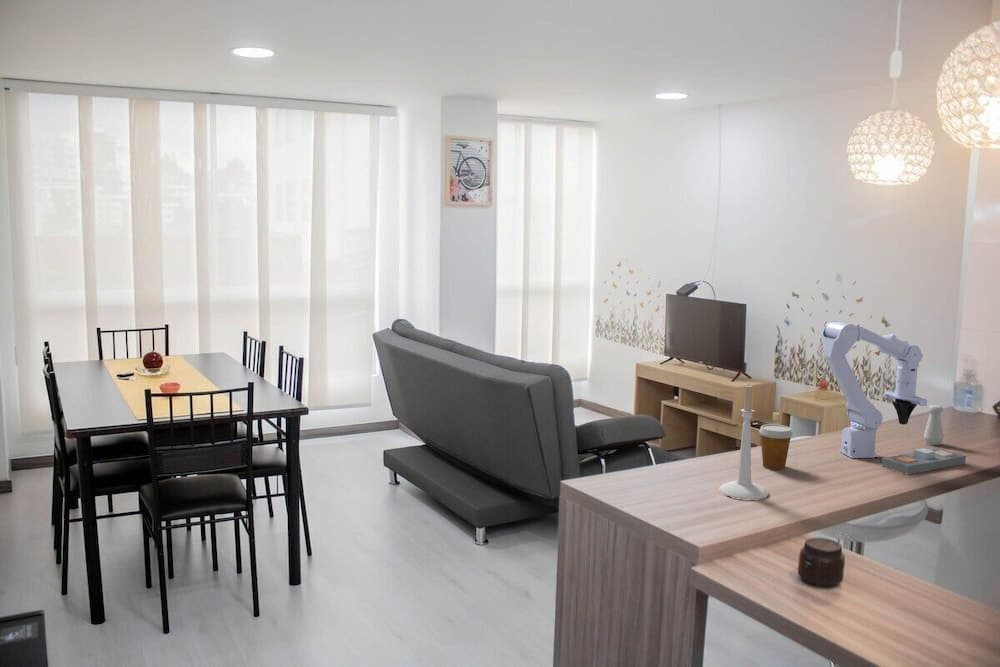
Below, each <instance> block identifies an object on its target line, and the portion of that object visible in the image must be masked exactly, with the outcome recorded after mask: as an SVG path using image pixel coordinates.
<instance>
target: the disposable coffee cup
mask: <svg viewBox="0 0 1000 667" xmlns="http://www.w3.org/2000/svg"><path fill="white" fill-rule="evenodd" d="M758 432H759V435H760V443H761V444H760V445H761V446H760V447H761V458H762V466H763V467H764V468H765V467H767V468H766V469H768V468H770V469H769V470H774V469H781V470H784V469H785V468H786V463H787V460H788V459H787V458H788V453H789V449H790V448H789V447H790V444H791V443H790V442H791V438H792V435H793V434H794V433H793V431H792V428H791V427H790V426H787V425H783V424H775V423H769V424H768V423H766V424H762V425H761V426H760V429H759V430H758ZM783 468H784V469H783Z"/></svg>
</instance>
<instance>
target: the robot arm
mask: <svg viewBox="0 0 1000 667" xmlns="http://www.w3.org/2000/svg"><path fill="white" fill-rule="evenodd" d="M820 334H821V337H822V339H823V351H824V352H823V354H824V358H825V360H826V362H827V364H828V366H829V369H830V371H831V373H832V374H833V376H834V378H835V380H836V382H837V385H838V386H839V388H840V390H841V393H842V394H843V395H844V397H845V399H846V401H847V402H846V403H845V405H844V406H845V408H846V415H847V416H846V417H847V418H848V419H847V420H849V421H850V423H849V424H850V426H848V427H844V428H843V429H842V431H841V439H840V440H841V441H840V449H839V452H840V453H842V454H844V455H846V456H848V457H849V458H851V459H869V458H871V459H872V458H874V459H875V457H877V458H881V455H879V454H877V453H875V452H876V438H877V430H878V428H879V427H880V426H881V424H882V422H883V414H882V412H881V411H880V410H879V409H877V408H876V406H875V405H874V404H873V403H872V402H871V400H869V399H868V398H867V397H866V395H865V394H864V390H863V389H862V387H861V385H860V383H859V381H858V380H857V377H856V375H855V373H854V371H853V369H852V368H851V365H850V364H849V361H848V359H847V357H846V355H847V354H849V352H850V350H851V349H852V348H853V346H854V345H855V343H856V342H860V341H861V340H862V341H864V342H866V343H869V344H872V345H874V346H877V350H878V351H879V352H881V353H882V354H885V355H887V356H888V355H889V356H891V357H892V358H894V359H895V360H896V361H897V363H896V375H895V376H896V379H895V391H891V390H883V397H884V398H886V399H887V398H888V399H892V400H894V401H892V405H893V407H894V409H895V411H896V414H897V417H898V424H899V425H908V422H909V419H910V418H911V414H912V412H913V411H914V410H915V408H916V407H917V405H919V406H920V407H928V399H925V398H923V397H919V396H917V394H916V392H917V379H918V378H917V376H918V368H919V366H920V362H921V361H922V359H923V355H924V354H923V353H922V350H921V348H920V347H919V346H918V345H915V344H910V343H909V341H908V340H906V339H902V340H901V339H899V338H897V335H895V334H892V333H889V334H885V335H882V336H881V335H880V334H878V333H876V332H874V331H872V330H870V329H867V328H865V327H863V326H861V325H860V326H859V325H855V324H852V323H845V322H839V321H837V320H829V321H828V322H827V323H826V324H825V325H824V326H823V330H822V331H821V333H820Z"/></svg>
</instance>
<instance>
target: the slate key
mask: <svg viewBox="0 0 1000 667" xmlns="http://www.w3.org/2000/svg"><path fill="white" fill-rule="evenodd" d="M932 450H933V449H928V448H924V447H923V448H916V449H914V451H913V453H914V457H917V458H920V459H924V460H929V459H935V451H932Z"/></svg>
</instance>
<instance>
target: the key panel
mask: <svg viewBox="0 0 1000 667" xmlns="http://www.w3.org/2000/svg"><path fill="white" fill-rule="evenodd" d="M931 450H932V451H940V450H942V451H945V452H949V453H952V454H953V455H952V456H947V457H943V456H939V455H936V454H935V459H929V460H924V459H920V458H917V457H914V452H911V453H905V454H899V455H893V456H888V457H882V458H881V459H882V460H881V466H882V465H883V466H886V467H888V468H887V469H889V468H891V469H890V470H892V469H894V470H893V471H895V470H897V471H896V472H898V471H900V472H899V473H901V472H903V473H902V474H904V473H907V474H908V475H910V474H909V473H914V474H916V473H915V472H919V473H921V472H920V471H924V472H929V471H928V470H930V471H933V470H934V469H935V470H941V469H945V468H946V469H947V468H950V467H957V466H962V465H966V457H967V456H966V455H963V454H960V453H956V452H953V451H950V450H946V449H942V448H935V449H931ZM904 456H905V457H908V458H912V459H915V460H916V462H912V463H904V462H901V461H898V460H895V458H898V457H904ZM883 466H882V467H883ZM886 467H885V468H886ZM940 468H941V469H940ZM907 474H906V475H907Z"/></svg>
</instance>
